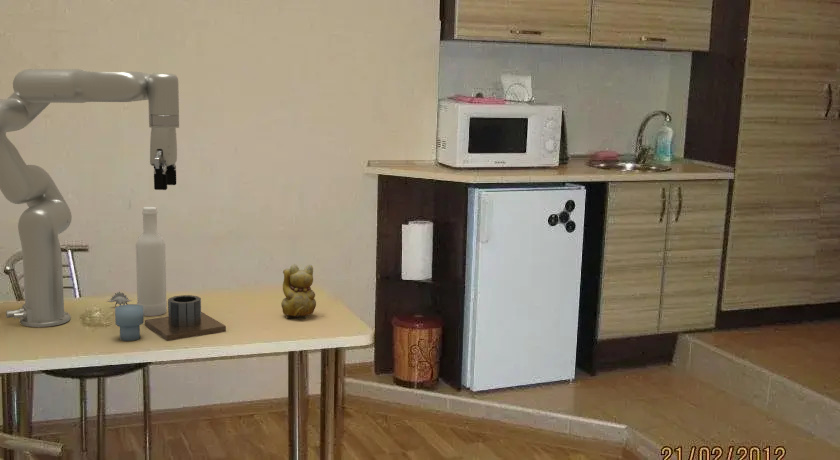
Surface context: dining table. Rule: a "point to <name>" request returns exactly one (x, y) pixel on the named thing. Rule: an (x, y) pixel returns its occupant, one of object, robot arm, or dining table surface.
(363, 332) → the dining table surface
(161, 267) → the bottle
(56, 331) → the dining table surface
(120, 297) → the stegosaurus
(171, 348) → the dining table surface
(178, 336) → the copper square plate
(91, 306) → the dining table surface
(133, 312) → the cap
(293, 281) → the decorative figurine
